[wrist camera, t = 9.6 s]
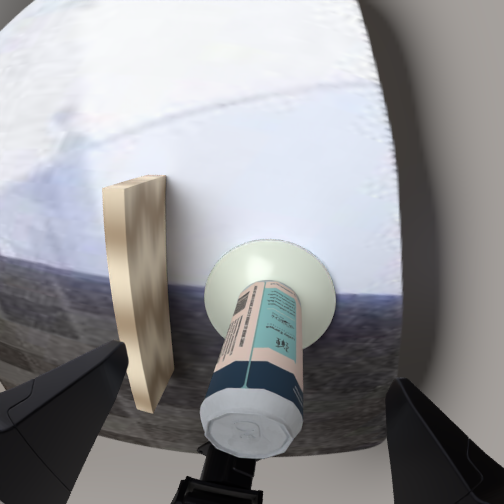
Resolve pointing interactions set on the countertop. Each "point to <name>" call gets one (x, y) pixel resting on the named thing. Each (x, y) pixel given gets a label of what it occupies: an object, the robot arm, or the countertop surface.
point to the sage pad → (277, 269)
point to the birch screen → (140, 282)
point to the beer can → (258, 375)
